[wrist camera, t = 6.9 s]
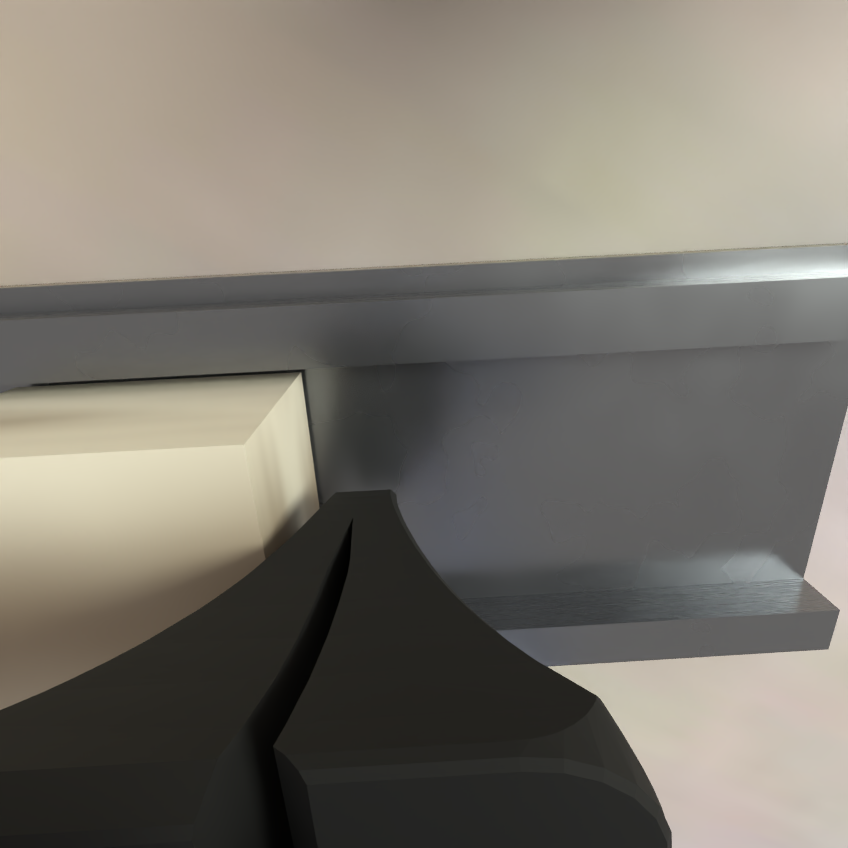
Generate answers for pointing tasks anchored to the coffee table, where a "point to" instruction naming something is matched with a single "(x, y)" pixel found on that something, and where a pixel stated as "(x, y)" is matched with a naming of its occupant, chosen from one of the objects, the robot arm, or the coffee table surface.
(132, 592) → the block
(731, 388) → the chute
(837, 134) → the coffee table surface
